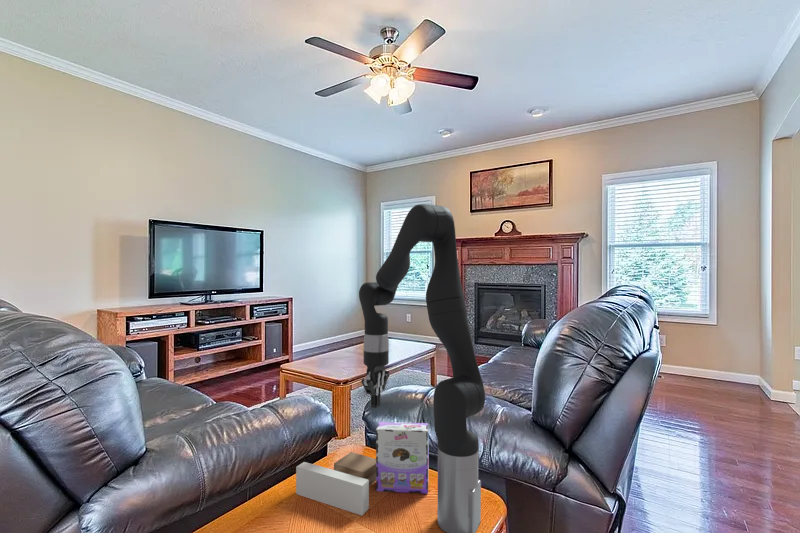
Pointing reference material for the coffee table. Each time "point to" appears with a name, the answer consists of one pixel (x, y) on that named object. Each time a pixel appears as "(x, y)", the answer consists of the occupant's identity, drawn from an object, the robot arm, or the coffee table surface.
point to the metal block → (357, 466)
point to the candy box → (402, 457)
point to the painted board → (333, 487)
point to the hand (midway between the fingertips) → (375, 406)
